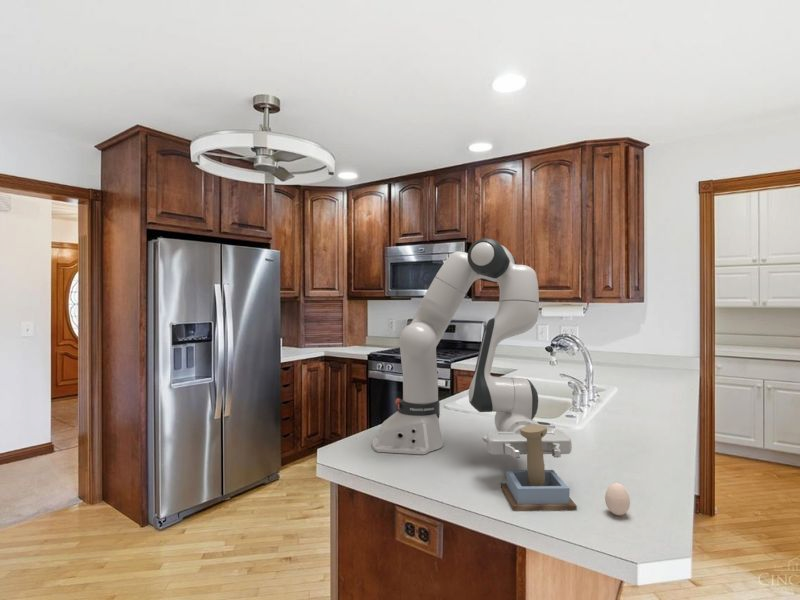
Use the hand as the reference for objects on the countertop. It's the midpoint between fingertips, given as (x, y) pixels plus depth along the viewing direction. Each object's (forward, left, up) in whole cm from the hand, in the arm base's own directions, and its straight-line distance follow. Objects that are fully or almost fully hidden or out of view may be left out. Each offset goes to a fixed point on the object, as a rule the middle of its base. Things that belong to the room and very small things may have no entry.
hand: (537, 454), depth 104 cm
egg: (+15, -7, -11) cm, 20 cm away
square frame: (0, +1, -11) cm, 11 cm away
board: (0, +1, -11) cm, 11 cm away
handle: (0, +1, -10) cm, 10 cm away
